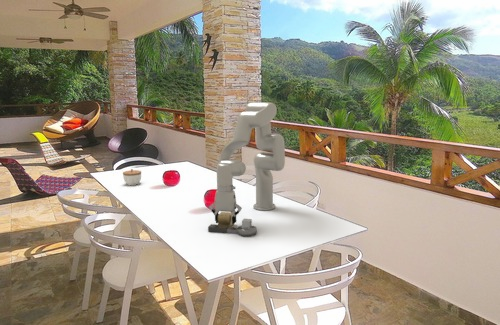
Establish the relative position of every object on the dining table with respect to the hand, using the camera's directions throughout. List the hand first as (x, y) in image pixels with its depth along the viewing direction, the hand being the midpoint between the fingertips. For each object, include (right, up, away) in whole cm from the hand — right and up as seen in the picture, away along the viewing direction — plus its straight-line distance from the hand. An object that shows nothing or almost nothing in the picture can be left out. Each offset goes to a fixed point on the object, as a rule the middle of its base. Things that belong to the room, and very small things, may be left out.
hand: (225, 222), depth 197 cm
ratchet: (+4, -3, -9) cm, 10 cm away
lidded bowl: (-72, +14, +90) cm, 116 cm away
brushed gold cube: (0, -1, 0) cm, 2 cm away
